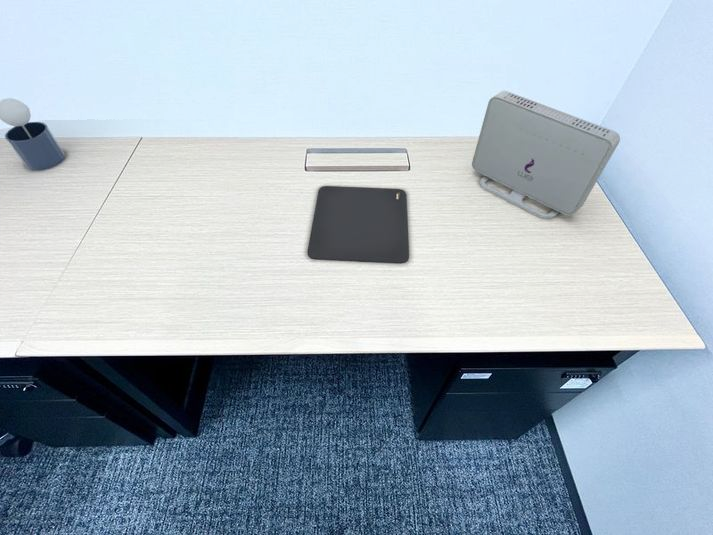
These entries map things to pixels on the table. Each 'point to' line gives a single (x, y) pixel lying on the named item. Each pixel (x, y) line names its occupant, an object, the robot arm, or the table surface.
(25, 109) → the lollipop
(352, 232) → the mouse pad
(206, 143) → the table surface
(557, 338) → the table surface
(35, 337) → the table surface
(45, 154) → the cup
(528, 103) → the network device
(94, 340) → the table surface
